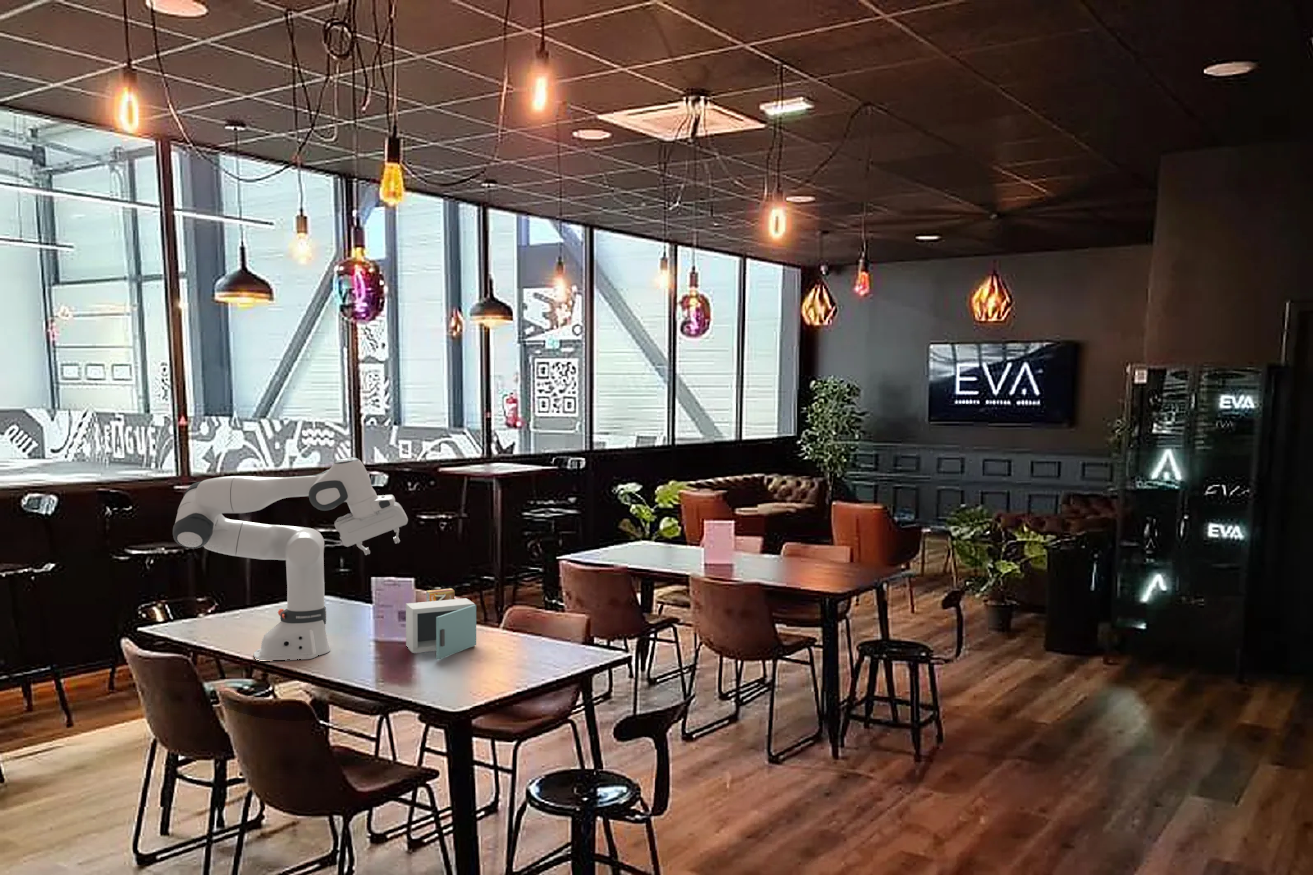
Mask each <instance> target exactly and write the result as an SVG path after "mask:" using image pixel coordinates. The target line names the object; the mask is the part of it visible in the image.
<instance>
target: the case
mask: <svg viewBox="0 0 1313 875" xmlns="http://www.w3.org/2000/svg"><path fill="white" fill-rule="evenodd" d="M471 605H476V604H475V603H474V602H473V601H471V600H470V599H468V598H466V597H465V598H455V599H452V600H440V601H429V602H426V601H421V602H419V601H418V602H408V603H407V602H406V603H405V646H407V647H408V648H407V647H406V648H407V649H408V650H409V651H410V653H412V654H419V653H420V654H421V653H427V652H428V653H429V652H436V617H438V616H441V615H444V614H447V613H450V612H453V611H456V610H459V609H462V608H465V607H468V606H471ZM475 646H476V645H474V646H472V647H475ZM472 647H471V648H472Z"/></svg>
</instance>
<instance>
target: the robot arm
mask: <svg viewBox="0 0 1313 875" xmlns="http://www.w3.org/2000/svg"><path fill="white" fill-rule="evenodd" d="M300 497H308V498H309V502H310V504H311V505H312V506H313V507H314V508H316V509H317V510H320V511H324V512H325V511H330V510H333V509H335V508H337V507H338V506H340V505H342V504H343V503H347V506H348V508H349V510H350V513H347V514H345V515H343V516H339V517H337V519H336V520H335V521H334V527H335V529H336V531H337V532H338V533H339V536H340V539H341V543H342V545H343V546H344V547H347V548H348V547H351V546H353V545H356V547H358V549H360V550H361V551H363V553H364V555H365V556H367V555H370V554H371V550H370V548H369V546H368V547H367V546H366V547H365V546H364V545H363V542H364V541H367V540H370V539H372V538H374V537H377V536H380V535H382V534H385V533H388V532H390V531H394V533H395V536H393V537H392V538H393V542H394V544H399V543H400V542H401V540H400V538H399V535H400V534H399V533H400V528H402V527H403V526H406V525H407V524H408V522H409V518H408V516H407V514H406V512H405V510H404V509H403V506H402V505H401V504H400V503H399V502H397V501H396V498H395V496H394V495H393V494H385V495H384V494H382V495H379V494H378V495H377V492H376V490H375V489H374V488H373V486H372V480H371V477H370V475H369V473H368V471H367V469H366V466H365V465H364V464H363V462H362V461H361V460H360V459H359V458H357V457H354V456H353V457H351V456H349V457H344V458H341V459H338V460H336V461H334V462H333V463H332V465H331V467H330V468H329V469H326V470H324V471H322V472H319V473H317V474H313V475H299V476H297V475H295V476H282V477H281V476H278V477H275V476H255V475H254V476H252V475H230V476H219V477H213V478H208V479H204V480H202V481H198V482H197V481H196V482H194V483H192V484H191V485H189V487H188V488H187V489H186V491H185V492H184V493H183V498H182V499H181V501H180V504H179V506H178V508H177V514H176V518H175V522H174V525H173V527H172V536H173V537H172V538H173V540H174V542H176V543H177V544H178V545H179V546H182V547H184V548H187V549H199V548H204V549H206V550H208V551H211V552H214V553H218V554H223V555H226V556H227V555H228V556H232V557H239V558H246V559H247V558H248V559H256V560H264V561H265V560H270V561H271V560H274V561H275V560H278V561H285V567H286V568H285V569H286V585H287V586H286V587H287V588H286V591H287V592H286V593H287V594H286V595H287V596H286V600H287V601H286V602H287V604H286V605H287V608H286V609H284V608H280V609H279V610H278V611H277V614H278V616H280V621H279V622H278V623H277V624H276V625H274V626H273V627H272V628H271V629H270V630H268V631H267V632H266V633H265V634H264V635H263V637H262V640H261V645H260V648H258V649H256V650H255V651H254V652H253V656H254V657H255V658H256V659H259V660H285V661H288V660H287V659H290V660H289V661H300V660H299V659H301V660H311V659H314V658H316V657H319V656H321V655H325V654H327V653H329V652H330V651H331V648H330V644H329V641H328V637H327V636H328V635H327V630H326V624H327V608H326V605H325V566H324V565H325V564H324V563H325V562H324V560H325V558H324V553H325V539H324V537H323V535H322V534H321V532H320V531H319V530H317V529H315V528H311V527H304V526H294V525H284V524H283V525H282V524H281V525H280V524H268V523H260V522H252V521H246V520H238V519H230V518H227V517H225V516H224V515H223V514H246V513H247V514H248V513H252V512H257V511H261V510H263V509H265V508H266V507H268V506H270V505H272V504H273V503H277V501H280V500H282V499H283V500H284V499H286V498H287V499H288V498H300ZM318 655H319V656H318ZM254 657H253V658H254ZM297 659H298V660H297Z"/></svg>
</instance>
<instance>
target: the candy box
mask: <svg viewBox="0 0 1313 875" xmlns="http://www.w3.org/2000/svg"><path fill="white" fill-rule="evenodd" d="M455 594H456V593H455V590H454V589H453V588H442V589H431V590H430V589H429V590H426V601H425V602H429V601H440V600H452V599H456V598H455V596H456V595H455Z"/></svg>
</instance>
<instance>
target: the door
mask: <svg viewBox="0 0 1313 875" xmlns="http://www.w3.org/2000/svg"><path fill="white" fill-rule="evenodd" d="M474 645H475V646H477V604H475V605H471V606H468V607H465V608H462V609H459V610H456V611H453V612H450V613H447V614H444V615H441V616H438V617H436V651H435V652H436V654H435V657H436V658H435V659H436V660H437V661H438V660H441V659H444V658H447V657H449V656H452V655H454V654H456V653H459V652H462V651H465V650H467V649H469V648H472V646H473V647H475V646H474Z"/></svg>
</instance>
